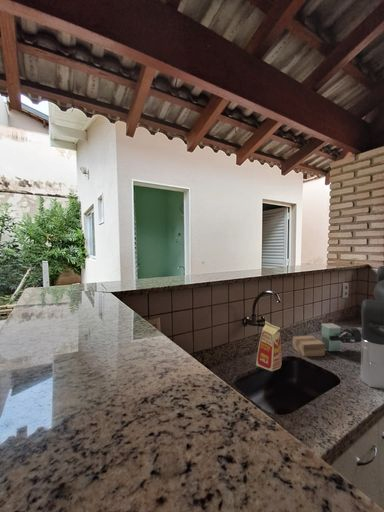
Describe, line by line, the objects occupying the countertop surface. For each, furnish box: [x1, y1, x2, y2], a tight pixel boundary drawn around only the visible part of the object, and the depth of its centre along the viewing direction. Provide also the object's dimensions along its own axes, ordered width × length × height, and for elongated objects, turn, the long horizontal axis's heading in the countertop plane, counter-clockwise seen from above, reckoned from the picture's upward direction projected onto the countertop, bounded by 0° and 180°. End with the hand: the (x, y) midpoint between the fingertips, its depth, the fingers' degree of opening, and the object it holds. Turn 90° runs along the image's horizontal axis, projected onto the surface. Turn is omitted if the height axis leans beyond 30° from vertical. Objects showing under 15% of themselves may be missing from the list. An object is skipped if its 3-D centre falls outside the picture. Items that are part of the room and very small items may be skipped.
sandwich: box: [292, 335, 326, 357], centre depth 123 cm, size 11×11×6 cm
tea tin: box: [320, 322, 342, 352], centre depth 123 cm, size 6×6×12 cm
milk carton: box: [255, 321, 283, 372], centre depth 109 cm, size 9×9×20 cm
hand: (326, 336), depth 122 cm, fingers closed on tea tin, 6 cm apart
